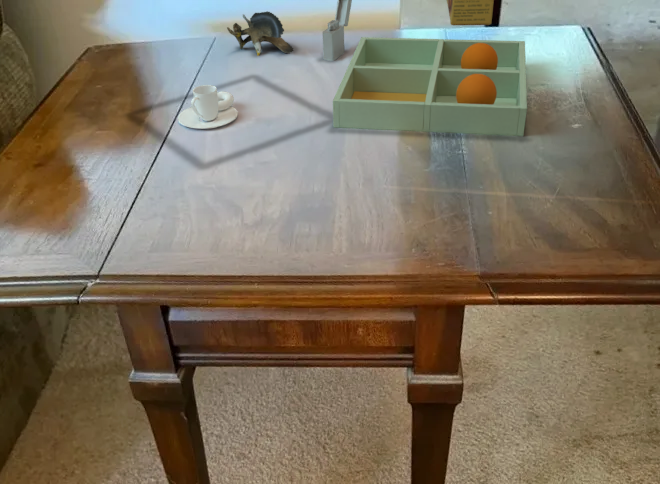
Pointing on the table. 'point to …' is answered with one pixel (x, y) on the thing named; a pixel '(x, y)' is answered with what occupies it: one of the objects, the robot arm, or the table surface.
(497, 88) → the divided tray
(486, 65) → the clementine
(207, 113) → the teacup and saucer
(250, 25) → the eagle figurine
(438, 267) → the table surface
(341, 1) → the lighter
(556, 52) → the table surface
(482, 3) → the candy box
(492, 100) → the clementine
